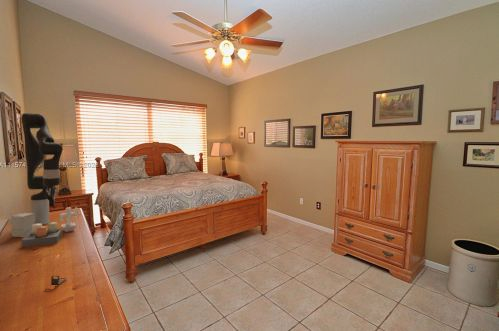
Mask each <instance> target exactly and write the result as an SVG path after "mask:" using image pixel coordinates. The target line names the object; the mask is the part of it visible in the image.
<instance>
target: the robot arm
mask: <svg viewBox="0 0 499 331" xmlns="http://www.w3.org/2000/svg"><path fill="white" fill-rule="evenodd" d="M20 119H21V126H22V132H23V138H24V151H25V162H26V172H27V173H26V174H27V176H26V178H27V179H26V181H27V188H28V189H29V190H42V191H40V192H37V193H35V194H32V195H31V196H30V211H31V212H30V213H34V224H38V223H41V224H42V226H45V225H48V223H50V207H51V208H54V207H55V206H56V204H55V201H56V200H55V199H56V198H57V191H58V188H57V187H56V186H60V185H61V184H60V183H61V181H60V180H61V177H60V176H61V174H60V161H61V156H62V153H63V150H64V149H63V145H62V144H61V143H59V142H55V140H54V138H53V136H52V134H51V133H50V129H49V125H48V122H47V120H46V117H45V116H44V115H43V114H41V113H30V112H29V113H28V112H27V113H22V114H21V118H20ZM31 129H38V130H37V132H36V134H35V135H34V134H33V133H32V130H31ZM35 136H36V137H35ZM45 156H52V157H51V158H45ZM41 164H42V165H43V166H42V167H43V169H42V170H43V172H42V175H35V173H36V170H37V169H38V168H39V166H40V165H41Z"/></svg>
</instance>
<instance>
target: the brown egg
mask: <svg viewBox="0 0 499 331" xmlns="http://www.w3.org/2000/svg"><path fill="white" fill-rule="evenodd" d="M47 230H48V225H42V226H40V227H37V238H42V237H47Z"/></svg>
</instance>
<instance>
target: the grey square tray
mask: <svg viewBox="0 0 499 331" xmlns="http://www.w3.org/2000/svg"><path fill="white" fill-rule="evenodd" d="M62 237H63V228H57V233H48V229H47V237H42V238H37V235H32V232H29V233H28V234H27V235H26V237H23V238H22V239H21V248H29V247H39V246H45V245H55V244H58V243H59V241H60V239H61V238H62Z"/></svg>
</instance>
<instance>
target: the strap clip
mask: <svg viewBox="0 0 499 331" xmlns="http://www.w3.org/2000/svg"><path fill="white" fill-rule="evenodd" d="M55 277H56V278H55ZM60 279H64V280H60ZM66 279H68V278H65V277H60V275H52V276H51V278H50V286H51V285H57V286H59V285H60V284H59V283H61V284H63V283H64V282H63V281H65V280H66ZM66 281H67V280H66ZM66 281H65V282H66ZM62 282H63V283H62ZM58 284H59V285H58Z"/></svg>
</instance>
